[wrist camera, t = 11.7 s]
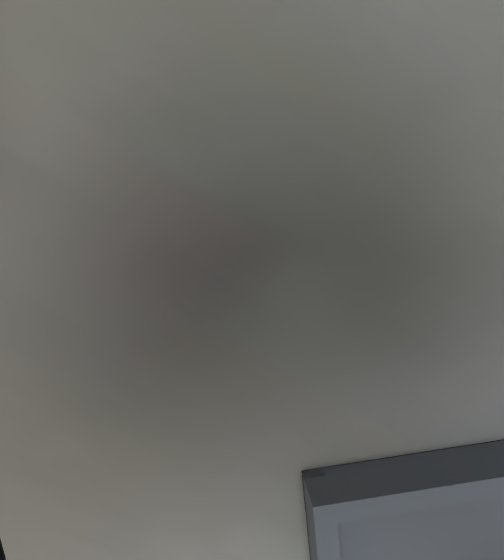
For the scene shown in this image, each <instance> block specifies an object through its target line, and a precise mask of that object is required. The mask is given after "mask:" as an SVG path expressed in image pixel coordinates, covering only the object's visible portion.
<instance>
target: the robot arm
mask: <svg viewBox="0 0 504 560" xmlns="http://www.w3.org/2000/svg"><path fill="white" fill-rule="evenodd" d="M0 560H6V559H5V554H4V551H3V547H2V543H1V540H0Z"/></svg>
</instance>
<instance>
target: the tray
mask: <svg viewBox="0 0 504 560" xmlns="http://www.w3.org/2000/svg"><path fill="white" fill-rule="evenodd" d="M302 480H303V490H304V500H305V510H306V520H307V531H308V541H309V551H310V560H504V440H501V441H494V442H488V443H481V444H475V445H468V446H462V447H455V448H449V449H442V450H436V451H429V452H423V453H417V454H410V455H404V456H397V457H391V458H384V459H378V460H371V461H365V462H358V463H352V464H345V465H339V466H332V467H326V468H320V469H313V470H307V471H302Z"/></svg>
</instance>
